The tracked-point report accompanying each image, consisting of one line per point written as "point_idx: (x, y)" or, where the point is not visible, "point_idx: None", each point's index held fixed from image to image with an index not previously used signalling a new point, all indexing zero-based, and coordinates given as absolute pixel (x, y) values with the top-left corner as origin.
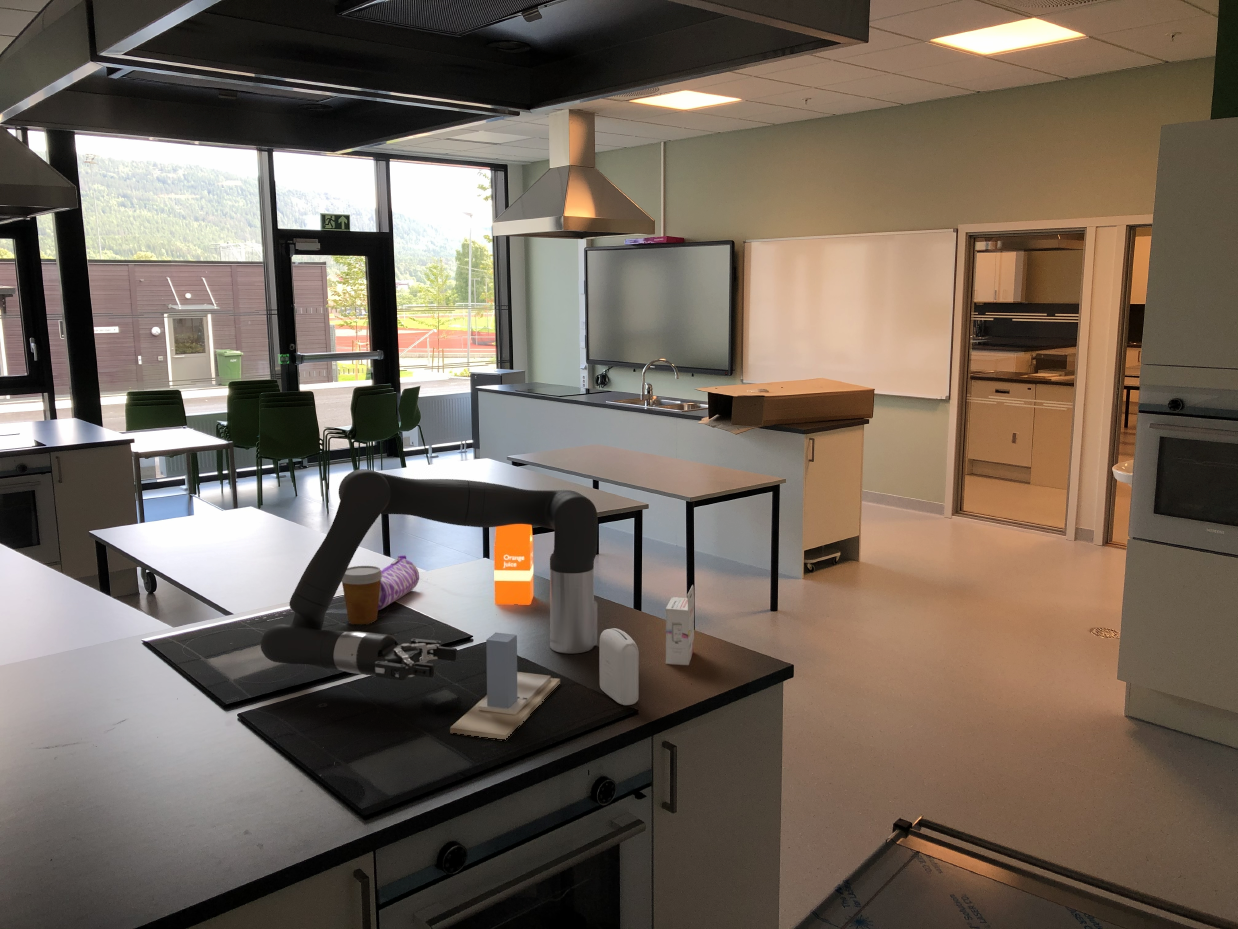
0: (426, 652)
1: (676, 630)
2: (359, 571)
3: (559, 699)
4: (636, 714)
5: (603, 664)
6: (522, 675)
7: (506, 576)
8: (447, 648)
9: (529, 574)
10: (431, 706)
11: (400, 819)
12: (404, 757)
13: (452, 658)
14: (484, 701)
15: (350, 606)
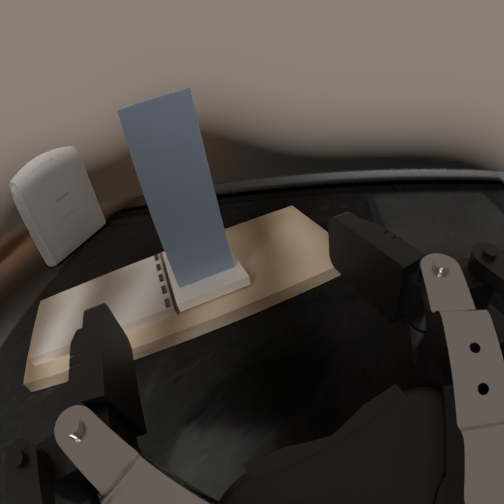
0: (168, 473)
1: None
2: None
3: (105, 271)
4: (124, 208)
5: (52, 214)
6: (44, 336)
7: None
8: (98, 335)
9: None
10: (303, 424)
11: (471, 171)
12: (462, 240)
13: (126, 349)
14: (217, 286)
15: None
